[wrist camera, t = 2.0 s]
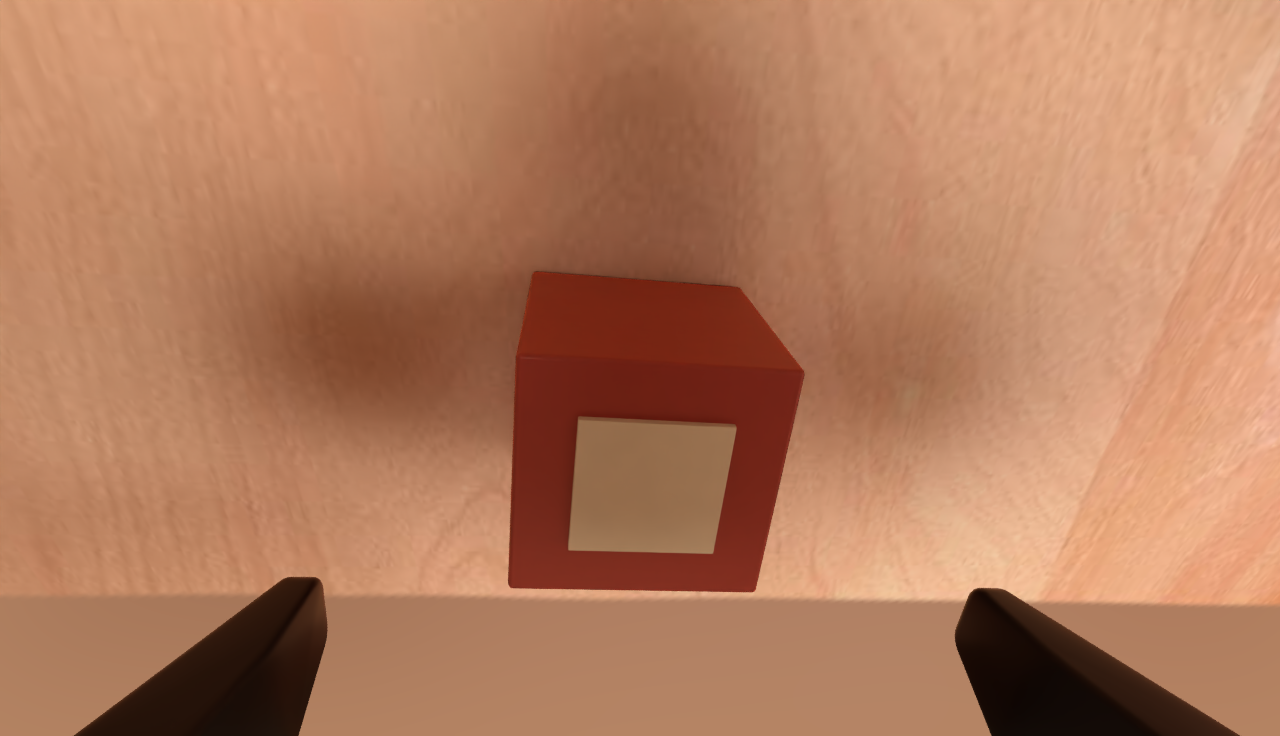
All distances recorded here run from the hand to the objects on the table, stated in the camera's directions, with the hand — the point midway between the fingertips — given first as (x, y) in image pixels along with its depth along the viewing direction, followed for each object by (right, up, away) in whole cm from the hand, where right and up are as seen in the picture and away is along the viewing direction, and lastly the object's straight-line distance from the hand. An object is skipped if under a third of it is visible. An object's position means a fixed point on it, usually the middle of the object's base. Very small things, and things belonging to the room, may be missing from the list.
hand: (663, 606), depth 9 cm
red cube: (-1, +3, +8) cm, 8 cm away
